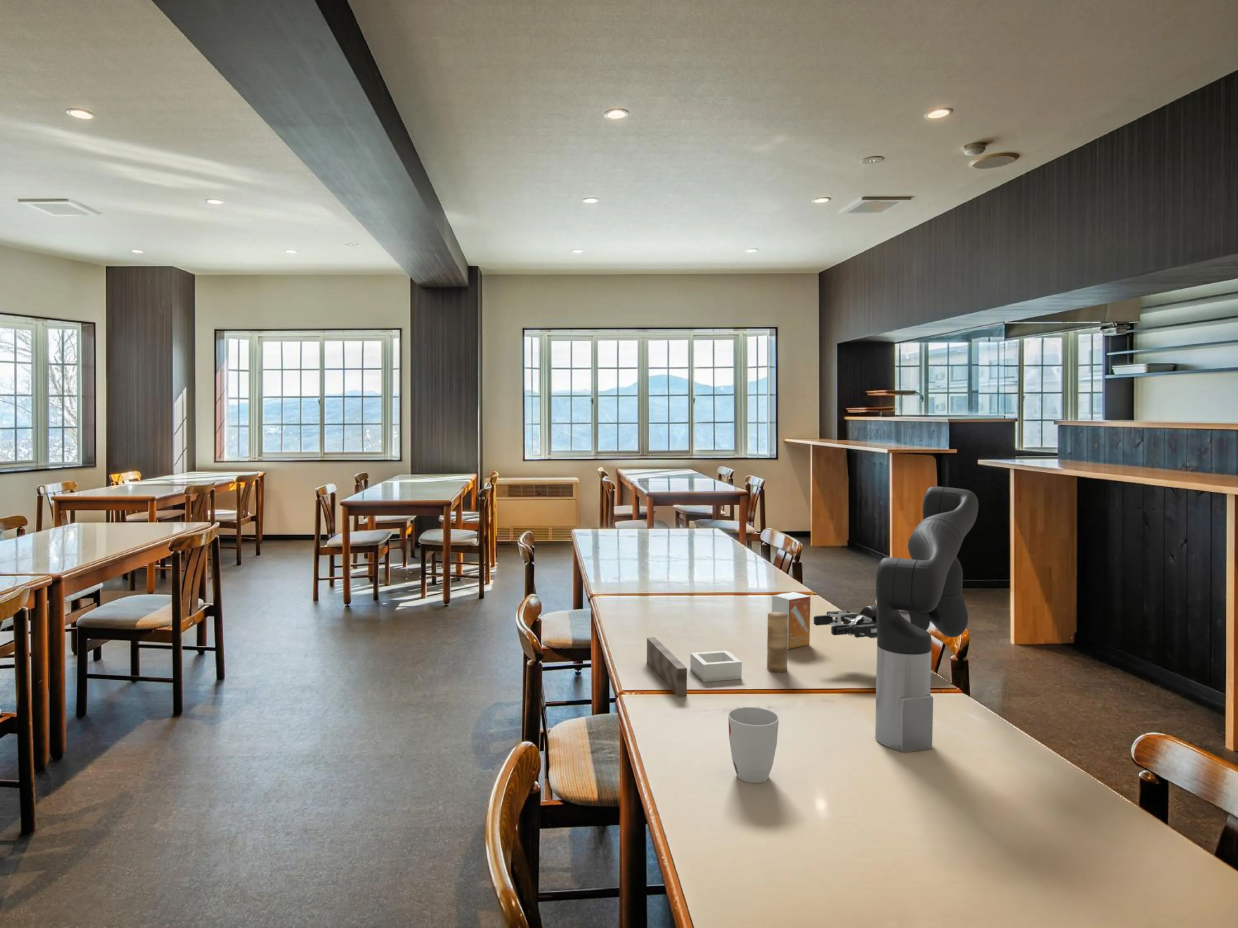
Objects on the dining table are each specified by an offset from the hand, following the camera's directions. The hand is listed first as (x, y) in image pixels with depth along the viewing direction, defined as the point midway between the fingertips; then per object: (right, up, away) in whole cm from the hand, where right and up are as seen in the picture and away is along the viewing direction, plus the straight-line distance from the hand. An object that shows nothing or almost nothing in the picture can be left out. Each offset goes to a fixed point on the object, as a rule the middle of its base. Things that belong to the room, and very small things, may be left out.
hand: (822, 625), depth 180 cm
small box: (-3, -10, +22) cm, 25 cm away
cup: (-26, -13, -54) cm, 61 cm away
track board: (-29, -11, -6) cm, 31 cm away
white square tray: (-26, -10, -6) cm, 28 cm away
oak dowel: (-11, -11, -2) cm, 16 cm away
